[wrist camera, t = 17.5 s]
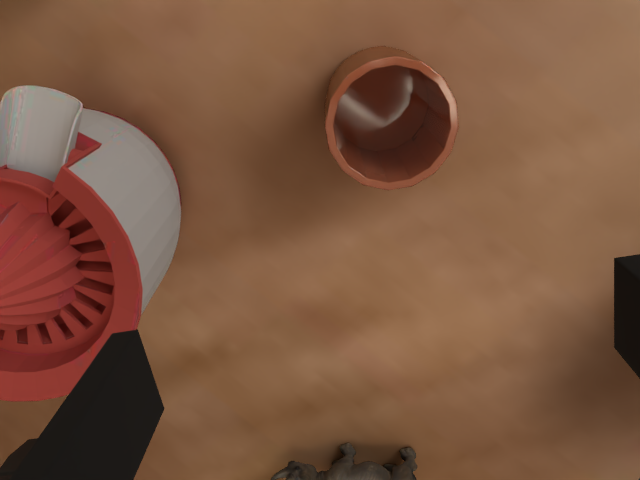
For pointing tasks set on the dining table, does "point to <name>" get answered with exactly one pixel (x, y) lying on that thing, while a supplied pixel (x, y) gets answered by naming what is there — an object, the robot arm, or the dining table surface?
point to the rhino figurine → (352, 469)
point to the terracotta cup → (389, 118)
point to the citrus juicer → (75, 236)
